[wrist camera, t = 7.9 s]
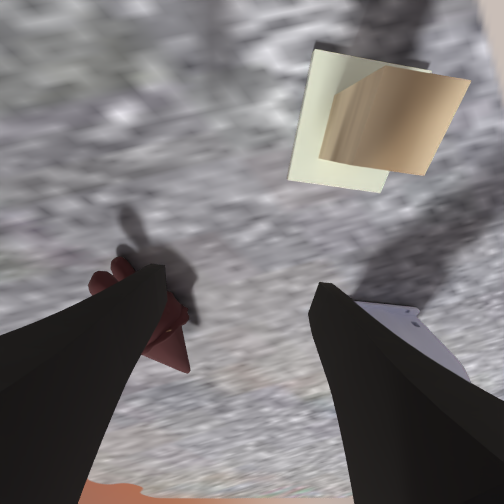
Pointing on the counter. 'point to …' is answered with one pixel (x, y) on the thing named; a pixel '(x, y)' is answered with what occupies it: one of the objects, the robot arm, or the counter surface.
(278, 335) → the counter surface
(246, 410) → the counter surface
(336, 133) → the block
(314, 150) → the coaster
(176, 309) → the icecream
